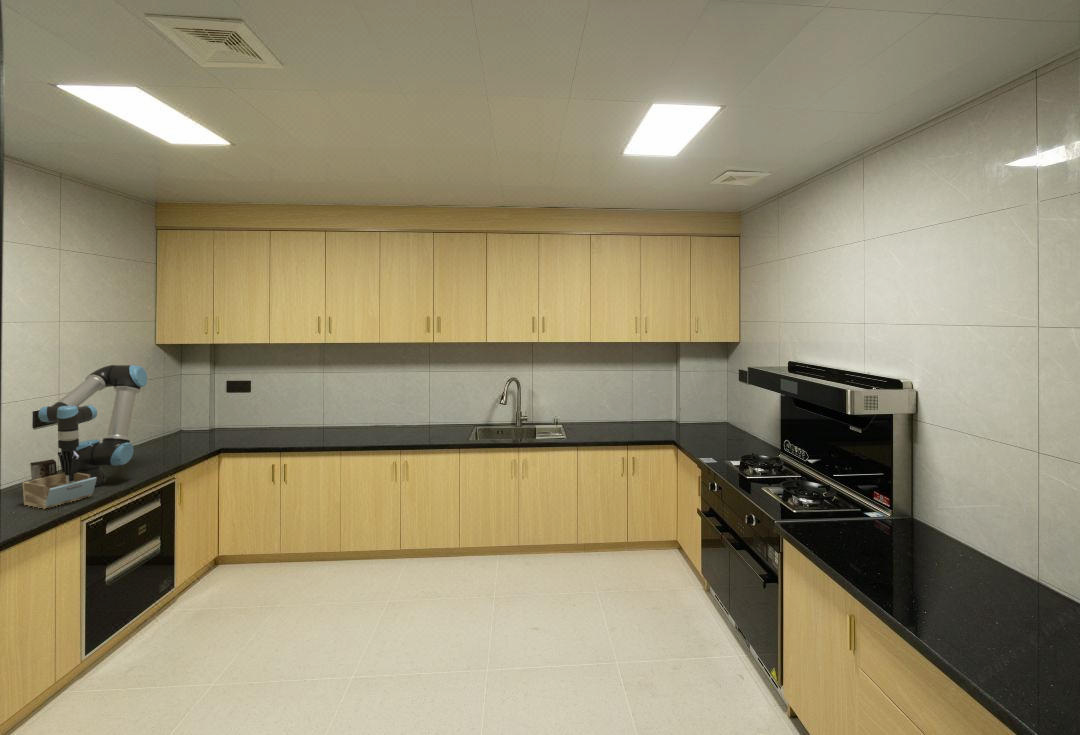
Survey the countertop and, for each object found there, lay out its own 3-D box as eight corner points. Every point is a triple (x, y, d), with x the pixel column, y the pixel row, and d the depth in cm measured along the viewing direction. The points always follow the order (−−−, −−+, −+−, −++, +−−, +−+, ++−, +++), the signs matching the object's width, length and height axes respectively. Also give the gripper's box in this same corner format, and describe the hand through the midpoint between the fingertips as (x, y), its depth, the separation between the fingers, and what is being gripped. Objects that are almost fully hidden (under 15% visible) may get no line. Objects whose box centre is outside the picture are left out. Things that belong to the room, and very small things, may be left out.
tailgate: (91, 492, 281) (95, 476, 279) (93, 494, 281) (97, 478, 279) (45, 504, 263) (49, 488, 261) (48, 507, 263) (52, 490, 260)
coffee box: (55, 489, 291) (53, 458, 289) (59, 492, 287) (56, 461, 285) (32, 494, 284) (29, 462, 282) (35, 497, 280) (32, 464, 278)
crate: (71, 492, 287) (69, 471, 286) (91, 496, 282) (90, 474, 281) (24, 505, 268) (22, 482, 267) (44, 509, 263) (43, 486, 262)
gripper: (50, 438, 267) (52, 487, 269) (68, 442, 262) (70, 492, 265) (68, 435, 274) (70, 483, 276) (86, 439, 269) (87, 487, 272)
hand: (70, 487), depth 271 cm, fingers closed
